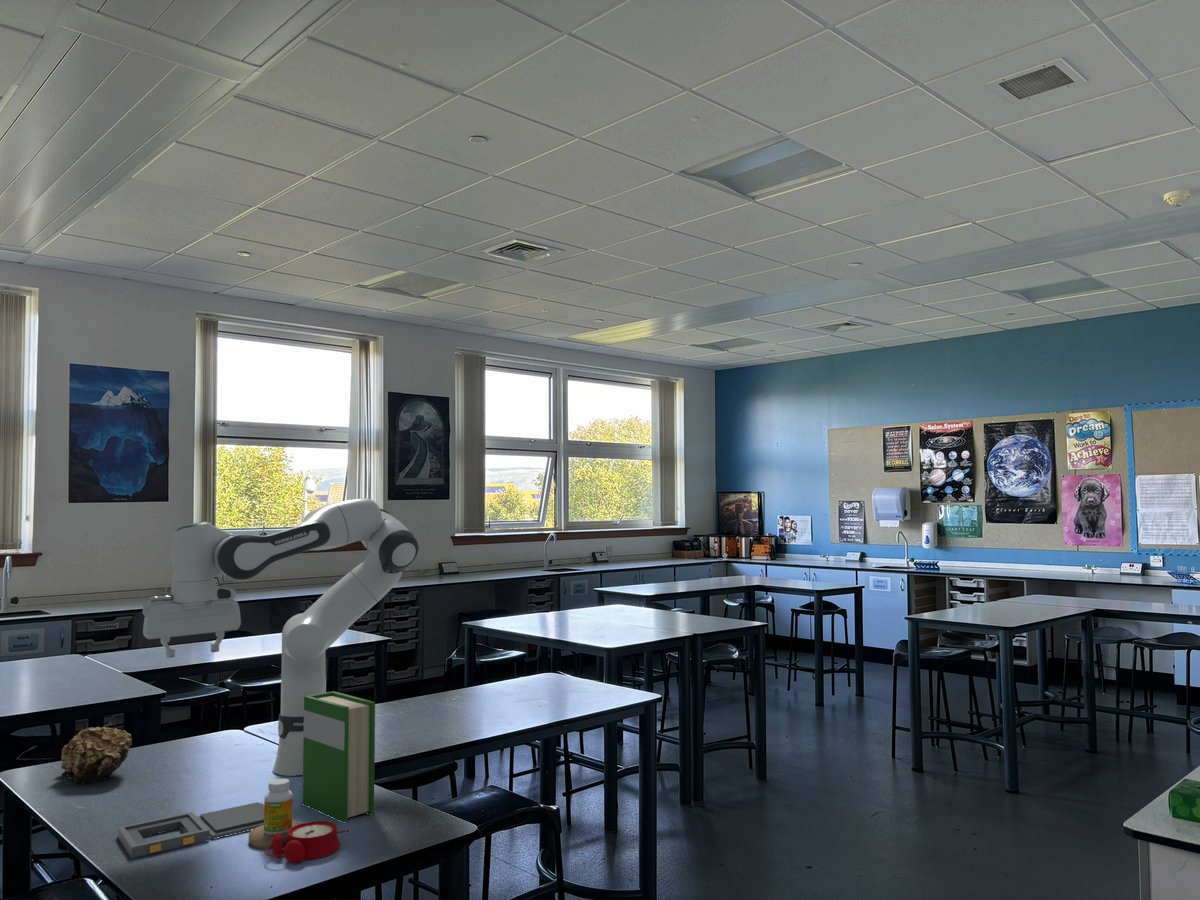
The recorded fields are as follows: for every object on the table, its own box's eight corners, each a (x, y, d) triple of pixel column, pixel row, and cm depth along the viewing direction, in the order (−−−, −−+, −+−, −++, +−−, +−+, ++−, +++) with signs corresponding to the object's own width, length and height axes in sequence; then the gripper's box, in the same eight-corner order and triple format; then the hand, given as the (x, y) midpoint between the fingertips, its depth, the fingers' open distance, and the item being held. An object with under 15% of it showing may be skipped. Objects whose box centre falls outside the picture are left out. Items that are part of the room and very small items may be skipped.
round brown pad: (295, 824, 181) (295, 817, 181) (314, 839, 173) (315, 832, 173) (241, 837, 174) (241, 829, 175) (258, 853, 166) (258, 845, 166)
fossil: (37, 765, 217) (70, 707, 222) (92, 779, 226) (122, 723, 232) (66, 791, 201) (101, 728, 206) (124, 805, 210) (156, 744, 216)
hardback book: (374, 814, 187) (375, 702, 189) (343, 823, 182) (344, 707, 184) (332, 796, 199) (333, 691, 201) (302, 804, 194) (304, 696, 196)
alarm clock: (356, 828, 169) (288, 832, 158) (349, 862, 168) (281, 868, 157) (325, 816, 176) (259, 819, 165) (319, 849, 175) (251, 855, 164)
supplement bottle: (265, 837, 170) (266, 787, 171) (262, 828, 175) (263, 779, 176) (293, 832, 172) (294, 783, 173) (290, 824, 177) (291, 776, 178)
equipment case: (261, 806, 193) (261, 797, 193) (283, 824, 182) (283, 814, 182) (117, 837, 175) (118, 827, 175) (132, 859, 164) (132, 848, 164)
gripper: (145, 598, 188) (145, 662, 187) (242, 590, 201) (243, 650, 200) (139, 596, 193) (139, 659, 192) (234, 589, 206) (234, 647, 205)
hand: (193, 654), depth 196 cm, fingers open, 8 cm apart
